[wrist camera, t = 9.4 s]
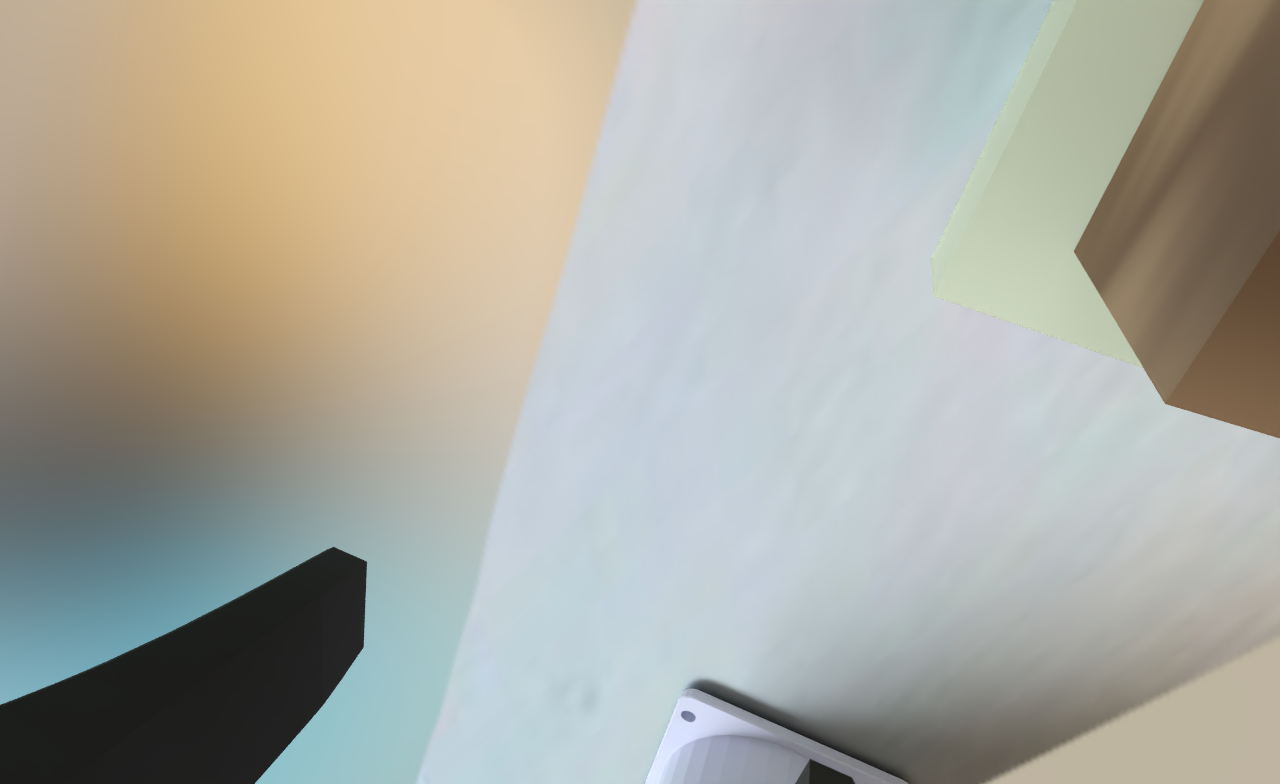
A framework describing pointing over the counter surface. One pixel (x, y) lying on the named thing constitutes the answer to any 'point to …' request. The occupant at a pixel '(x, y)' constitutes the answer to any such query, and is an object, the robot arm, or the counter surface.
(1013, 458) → the counter surface
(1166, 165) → the walnut block
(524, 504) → the counter surface
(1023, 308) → the sage block
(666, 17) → the counter surface
